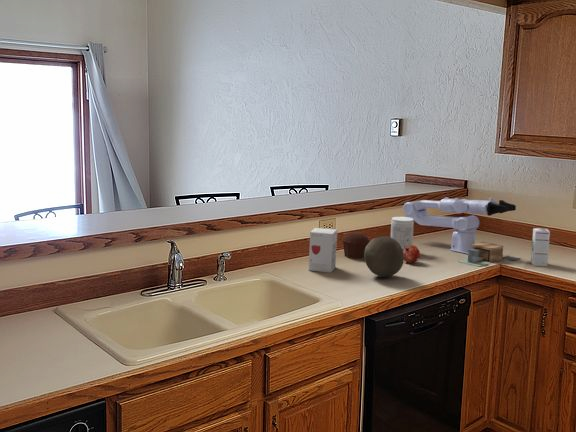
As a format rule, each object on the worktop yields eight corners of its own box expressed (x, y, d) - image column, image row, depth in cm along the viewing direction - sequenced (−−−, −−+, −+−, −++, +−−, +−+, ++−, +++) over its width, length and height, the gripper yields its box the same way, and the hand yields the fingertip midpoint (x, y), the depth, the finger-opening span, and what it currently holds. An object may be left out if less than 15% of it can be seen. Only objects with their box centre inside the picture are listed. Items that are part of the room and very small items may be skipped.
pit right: (500, 258, 261) (500, 257, 261) (507, 256, 265) (507, 255, 265) (513, 261, 257) (514, 260, 257) (520, 258, 261) (520, 258, 261)
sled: (465, 261, 252) (465, 249, 251) (485, 255, 264) (486, 243, 263) (477, 263, 248) (478, 251, 248) (497, 257, 260) (498, 246, 259)
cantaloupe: (369, 270, 235) (371, 231, 233) (406, 275, 230) (408, 235, 227) (358, 279, 222) (360, 238, 220) (397, 284, 217) (400, 242, 214)
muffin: (374, 256, 257) (375, 233, 256) (357, 260, 250) (358, 236, 248) (352, 251, 266) (353, 228, 264) (335, 255, 258) (336, 231, 256)
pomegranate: (408, 265, 254) (393, 252, 250) (419, 250, 255) (404, 237, 250) (418, 271, 248) (403, 258, 243) (429, 257, 248) (414, 243, 243)
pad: (457, 261, 253) (457, 261, 253) (469, 258, 259) (469, 258, 259) (479, 266, 246) (479, 266, 246) (491, 263, 252) (491, 262, 252)
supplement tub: (393, 248, 274) (395, 215, 271) (414, 251, 270) (416, 217, 267) (386, 252, 265) (388, 218, 263) (408, 255, 261) (410, 221, 259)
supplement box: (307, 270, 233) (309, 231, 230) (313, 265, 241) (314, 227, 239) (331, 272, 230) (333, 233, 228) (336, 267, 239) (337, 229, 236)
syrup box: (547, 266, 249) (551, 231, 246) (532, 265, 250) (535, 230, 247) (544, 263, 254) (548, 228, 252) (529, 262, 256) (532, 227, 253)
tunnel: (471, 258, 259) (472, 244, 258) (482, 255, 265) (483, 241, 264) (491, 262, 253) (492, 248, 252) (502, 259, 259) (503, 245, 258)
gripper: (471, 199, 259) (502, 200, 249) (489, 196, 269) (519, 197, 259) (471, 215, 260) (501, 217, 250) (489, 212, 269) (519, 214, 260)
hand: (510, 208), depth 254 cm, fingers open, 7 cm apart
